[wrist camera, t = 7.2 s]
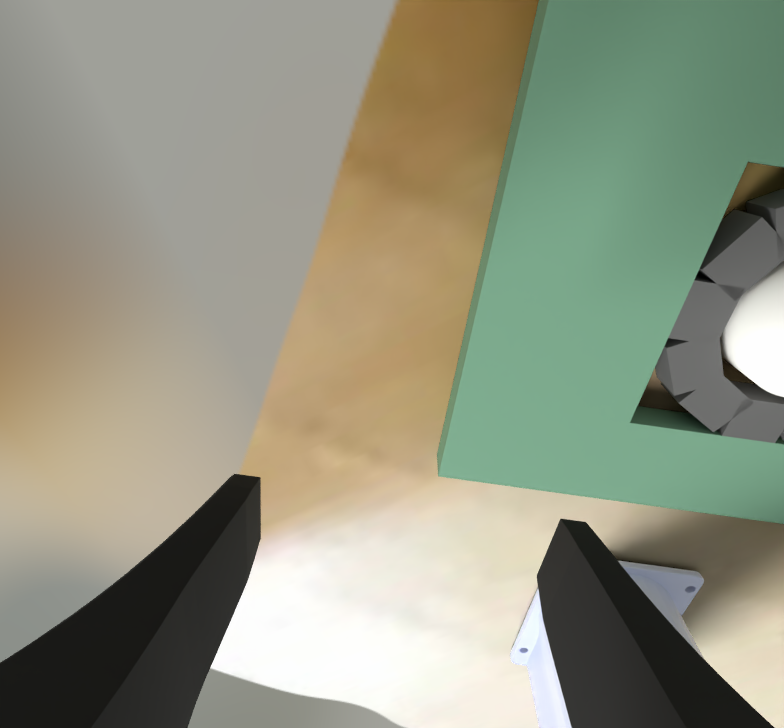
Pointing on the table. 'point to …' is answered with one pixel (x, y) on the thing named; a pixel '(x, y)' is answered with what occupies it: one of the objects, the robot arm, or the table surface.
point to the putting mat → (628, 262)
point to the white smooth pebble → (759, 333)
